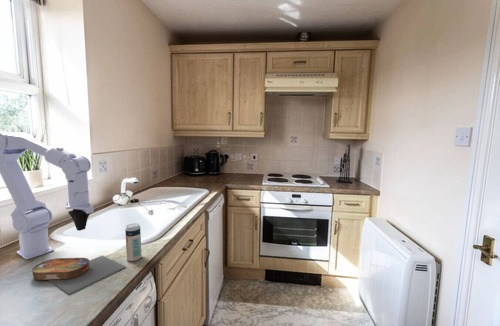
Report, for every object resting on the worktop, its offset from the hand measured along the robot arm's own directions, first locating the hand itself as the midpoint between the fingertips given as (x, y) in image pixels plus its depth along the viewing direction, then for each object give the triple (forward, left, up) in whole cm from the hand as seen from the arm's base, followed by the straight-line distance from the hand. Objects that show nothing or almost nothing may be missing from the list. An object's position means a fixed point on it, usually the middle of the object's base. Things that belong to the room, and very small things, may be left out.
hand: (81, 229), depth 86 cm
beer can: (+18, +8, -10) cm, 22 cm away
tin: (+5, -6, -8) cm, 11 cm away
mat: (+14, -5, -9) cm, 18 cm away
